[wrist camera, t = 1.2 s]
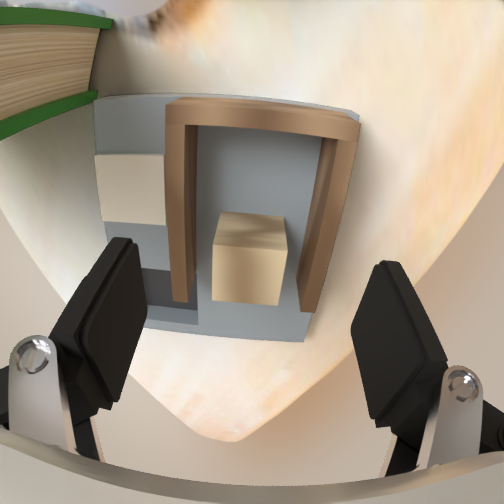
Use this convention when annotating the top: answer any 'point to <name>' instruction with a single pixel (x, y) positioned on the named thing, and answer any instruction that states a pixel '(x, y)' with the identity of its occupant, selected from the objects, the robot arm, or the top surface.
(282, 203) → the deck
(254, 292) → the block
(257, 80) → the top surface
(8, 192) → the top surface
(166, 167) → the brown wooden u-shaped frame
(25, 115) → the hardback book
